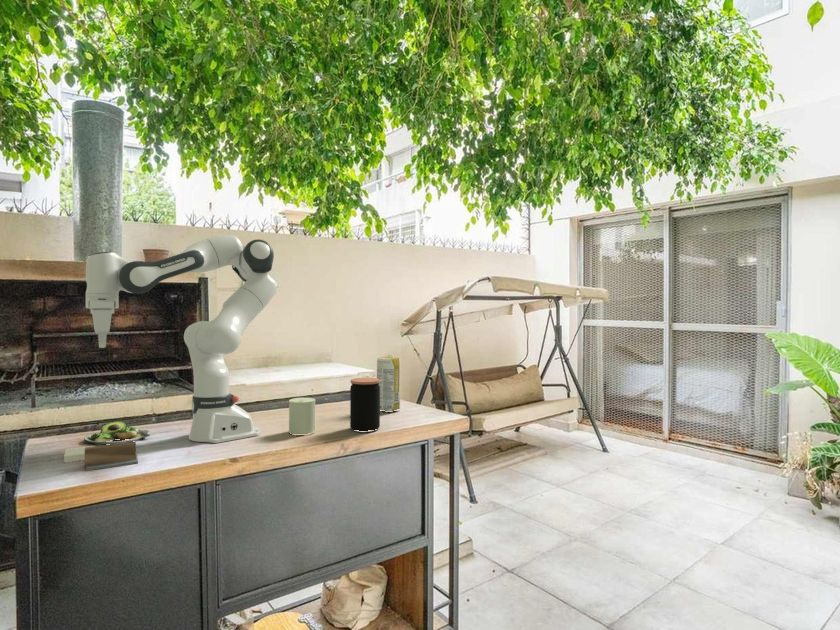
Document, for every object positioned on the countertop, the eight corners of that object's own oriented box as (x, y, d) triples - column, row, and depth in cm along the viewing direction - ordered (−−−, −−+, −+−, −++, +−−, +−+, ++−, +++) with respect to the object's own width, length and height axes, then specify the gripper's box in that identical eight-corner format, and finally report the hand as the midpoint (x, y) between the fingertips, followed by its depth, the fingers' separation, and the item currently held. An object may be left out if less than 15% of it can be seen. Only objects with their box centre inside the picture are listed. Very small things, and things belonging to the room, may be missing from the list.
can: (287, 436, 168) (287, 401, 167) (289, 429, 177) (289, 396, 176) (315, 435, 170) (315, 400, 169) (315, 428, 179) (315, 395, 178)
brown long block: (85, 463, 136) (85, 447, 136) (135, 456, 142) (135, 441, 142) (84, 466, 133) (84, 450, 133) (135, 459, 140) (135, 443, 140)
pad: (136, 456, 144) (136, 454, 144) (137, 463, 138) (137, 461, 138) (87, 463, 138) (87, 461, 138) (86, 470, 132) (86, 468, 132)
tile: (94, 459, 142) (94, 452, 149) (94, 452, 142) (94, 445, 149) (64, 463, 139) (65, 456, 145) (64, 456, 138) (65, 449, 145)
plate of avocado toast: (167, 434, 171) (167, 421, 170) (125, 449, 153) (125, 434, 153) (120, 430, 175) (120, 417, 175) (75, 444, 158) (74, 430, 157)
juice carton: (402, 410, 210) (403, 354, 209) (390, 414, 204) (390, 356, 203) (386, 407, 215) (386, 353, 215) (373, 410, 209) (374, 354, 209)
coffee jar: (371, 424, 186) (371, 376, 185) (385, 430, 177) (385, 380, 176) (345, 428, 180) (345, 378, 180) (358, 434, 171) (358, 382, 171)
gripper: (91, 302, 163) (91, 344, 163) (89, 302, 146) (89, 349, 146) (114, 303, 167) (114, 343, 167) (114, 303, 149) (114, 348, 149)
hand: (102, 346), depth 156 cm, fingers open, 8 cm apart
